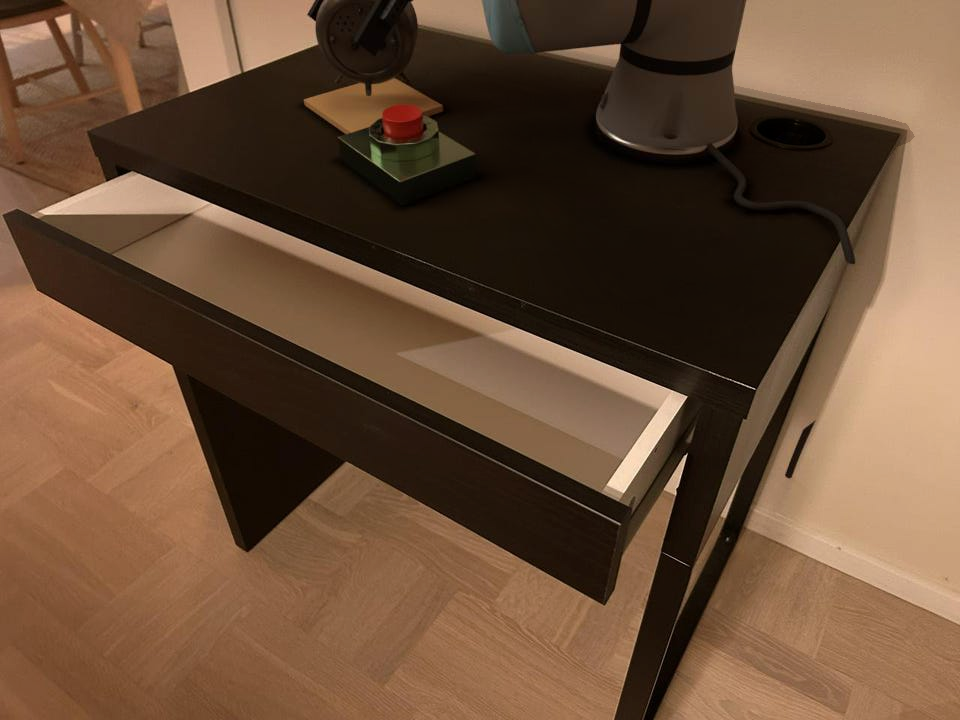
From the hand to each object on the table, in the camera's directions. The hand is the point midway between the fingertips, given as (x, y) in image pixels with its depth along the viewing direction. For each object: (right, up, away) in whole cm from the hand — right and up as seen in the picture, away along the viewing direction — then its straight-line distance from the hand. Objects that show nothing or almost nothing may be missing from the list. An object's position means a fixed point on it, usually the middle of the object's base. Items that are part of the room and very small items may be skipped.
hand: (339, 35), depth 82 cm
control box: (+8, -16, -4) cm, 18 cm away
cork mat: (+3, -6, +8) cm, 10 cm away
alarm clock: (+3, -4, +6) cm, 8 cm away
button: (+8, -13, -6) cm, 16 cm away
